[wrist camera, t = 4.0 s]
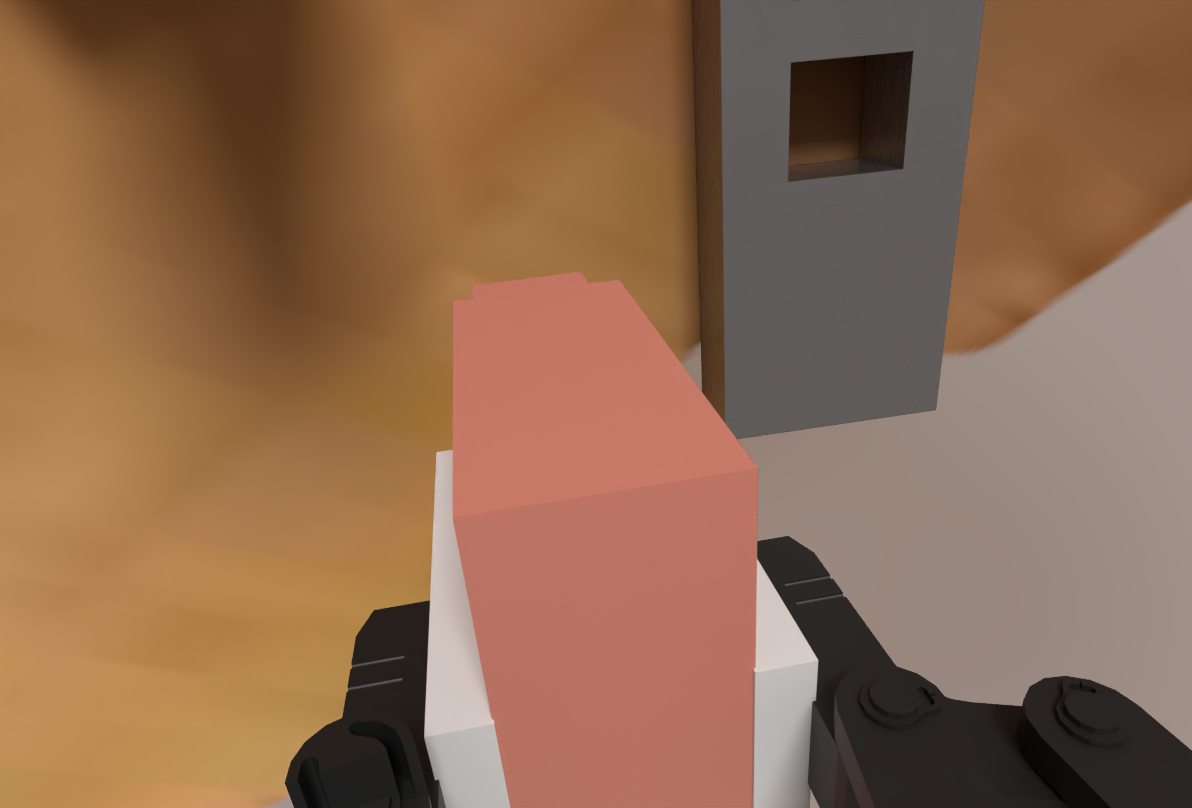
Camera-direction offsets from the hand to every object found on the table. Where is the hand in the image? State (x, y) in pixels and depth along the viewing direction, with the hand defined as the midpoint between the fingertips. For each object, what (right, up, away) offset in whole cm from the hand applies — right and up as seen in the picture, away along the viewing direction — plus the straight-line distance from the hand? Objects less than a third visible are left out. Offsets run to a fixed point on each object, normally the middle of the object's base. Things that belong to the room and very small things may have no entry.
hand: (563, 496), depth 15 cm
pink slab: (-1, +1, +3) cm, 4 cm away
